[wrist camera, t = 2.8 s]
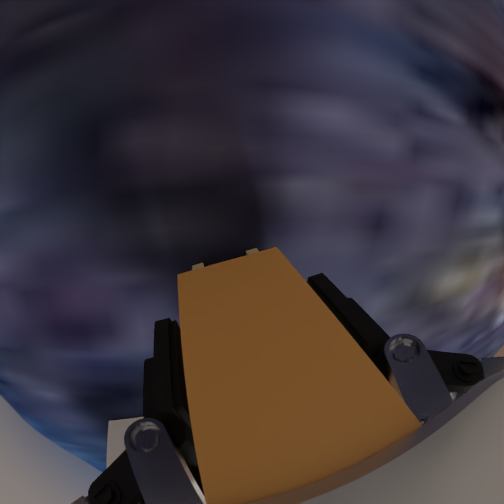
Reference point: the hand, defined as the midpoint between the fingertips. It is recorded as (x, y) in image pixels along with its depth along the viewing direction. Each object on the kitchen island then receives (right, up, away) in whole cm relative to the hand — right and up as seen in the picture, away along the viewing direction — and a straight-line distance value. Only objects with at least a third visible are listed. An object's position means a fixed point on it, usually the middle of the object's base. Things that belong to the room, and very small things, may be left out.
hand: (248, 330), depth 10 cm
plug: (-1, +1, +3) cm, 3 cm away
